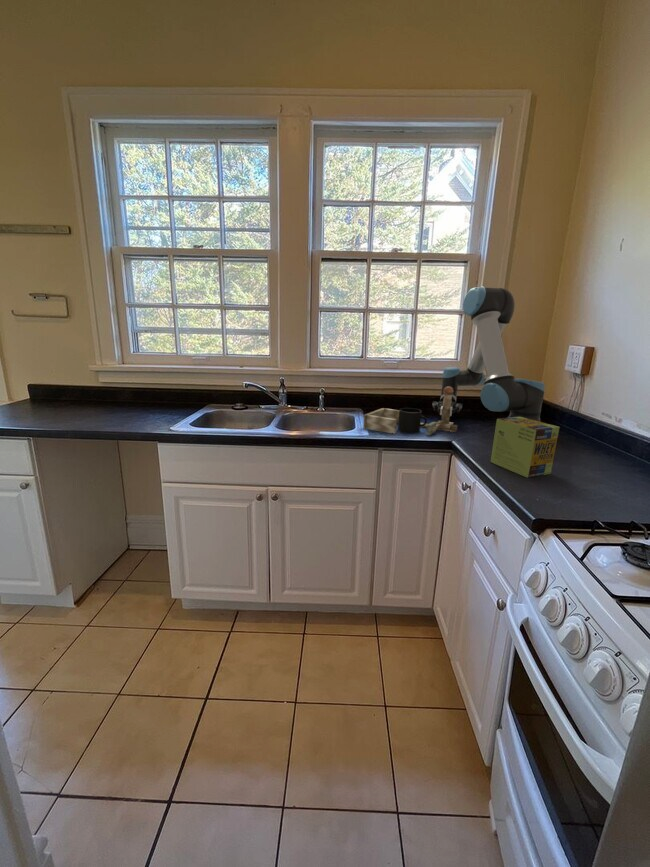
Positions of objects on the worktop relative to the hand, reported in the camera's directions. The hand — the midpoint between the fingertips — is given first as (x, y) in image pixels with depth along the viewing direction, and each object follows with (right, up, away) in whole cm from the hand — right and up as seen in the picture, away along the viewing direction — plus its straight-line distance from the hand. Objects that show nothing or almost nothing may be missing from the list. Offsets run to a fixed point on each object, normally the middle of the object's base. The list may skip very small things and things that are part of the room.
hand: (445, 412), depth 166 cm
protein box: (+13, -20, -37) cm, 44 cm away
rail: (-5, -6, +12) cm, 14 cm away
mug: (-13, -8, +5) cm, 16 cm away
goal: (-23, -6, +11) cm, 26 cm away
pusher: (-2, -8, +3) cm, 9 cm away
